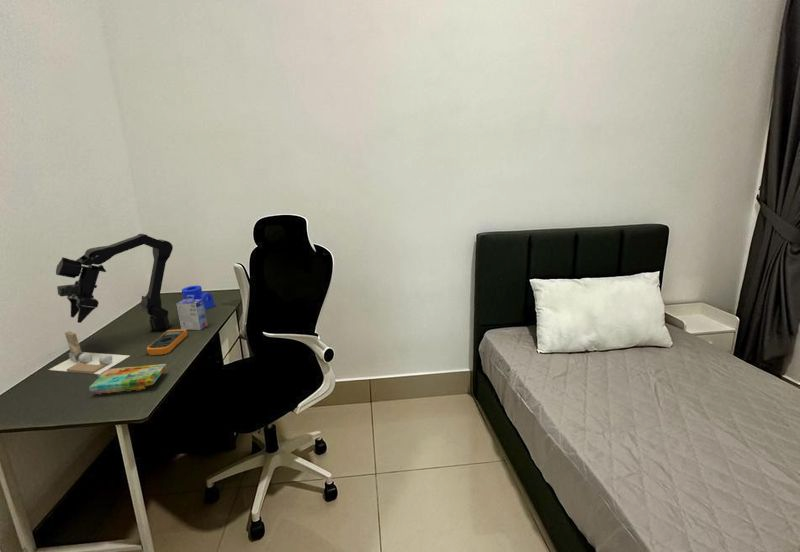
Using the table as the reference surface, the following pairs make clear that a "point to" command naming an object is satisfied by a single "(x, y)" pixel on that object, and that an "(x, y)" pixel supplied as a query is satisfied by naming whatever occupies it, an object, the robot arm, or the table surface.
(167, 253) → the robot arm
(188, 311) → the ink cartridge box
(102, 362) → the board
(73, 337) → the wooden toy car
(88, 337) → the table surface
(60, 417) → the table surface
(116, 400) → the table surface
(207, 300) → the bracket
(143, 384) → the puzzle game
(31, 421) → the table surface
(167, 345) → the multimeter
